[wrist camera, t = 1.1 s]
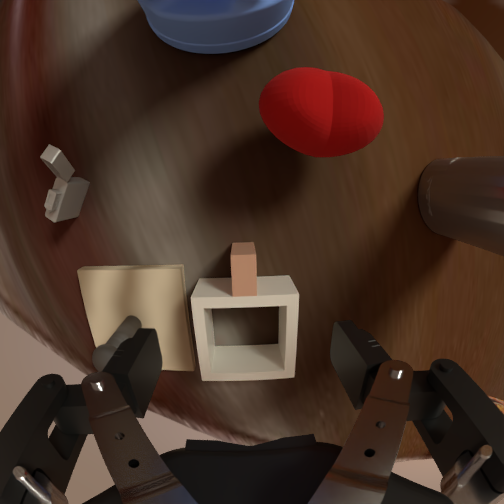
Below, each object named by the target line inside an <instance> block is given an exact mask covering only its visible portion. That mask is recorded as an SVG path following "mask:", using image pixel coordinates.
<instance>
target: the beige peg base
mask: <svg viewBox="0 0 504 504" xmlns="http://www.w3.org/2000/svg"><path fill="white" fill-rule="evenodd" d="M77 272H78V277H79V283H80V288H81V292H82V297H83V301H84V306H85V310H86V314H87V318H88V321H89V325H90V329H91V332H92V336H93V339H94V342H95V346H96V349H95V350H94V352H93V356H92V361H93V364H94V366H95V368H96V369H97V370H98V371H99V372H102V370H103V369H104V367H105V366H106V364H107V363H108V361H109V360H110V358H111V357H112V356H113V354H114V352H115V351H117V348H118V347H119V345H120V344H121V343H122V342H123V341H125V340H126V339H128V338H132V337H133V336H134V334H135V333H136V331H137V330H138V328H155V329H156V331H157V335H158V340H159V345H160V350H161V354H162V362H163V363H162V370H177V371H194V369H195V365H196V362H195V355H194V349H193V342H192V335H191V328H190V320H189V313H188V304H187V296H186V286H185V277H184V266H183V264H180V265H139V266H86V267H82V268H80V269H79V270H77Z"/></svg>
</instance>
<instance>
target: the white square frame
mask: <svg viewBox="0 0 504 504" xmlns="http://www.w3.org/2000/svg"><path fill="white" fill-rule="evenodd" d="M231 275H232V278H199V280H198V282H197V284H196V287H195V289H194V291H193V293H192V296H191V305H192V314H193V322H194V330H195V337H196V344H197V351H198V358H199V365H200V371H201V377H202V381H245V380H267V379H281V378H293V377H294V375H295V362H296V346H297V329H298V308H299V293H298V291H297V289H296V287H295V285H294V284H293V282H292V280H291V278H290V276H289V275H287V276H263V277H257V269H256V251H255V247H254V242H242V243H232V250H231ZM267 306H279V338H278V344H266V345H243V346H215V340H214V330H213V319H212V308H242V307H267Z"/></svg>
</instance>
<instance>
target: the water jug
mask: <svg viewBox="0 0 504 504" xmlns="http://www.w3.org/2000/svg"><path fill="white" fill-rule="evenodd" d="M138 2H139V4H140V5H141V7H142V9H143V10H144V12H145V14H146V17H147V20H148V23H149V25H150V27H151V28H152V30H153V31H154V32H155V34H156V35H157V36H158V37H159V38H160V39H161V40H163V41H164V42H165V43H167V44H169V45H171V46H173V47H175V48H178V49H181V50H184V51H188V52H194V53H203V54H219V53H228V52H234V51H239V50H243V49H246V48H249V47H252V46H255V45H257V44H260V43H262V42H264V41H266V40H267V39H269V38H270V37H272V36H273V35H275V34H276V33H277V32H278V31H279V30H280V29H281V28H282V27H283V26H284V25H285V24H286V22H287V21H288V19H289V17H290V14H291V11H292V8H293V4H294V0H138Z"/></svg>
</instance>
